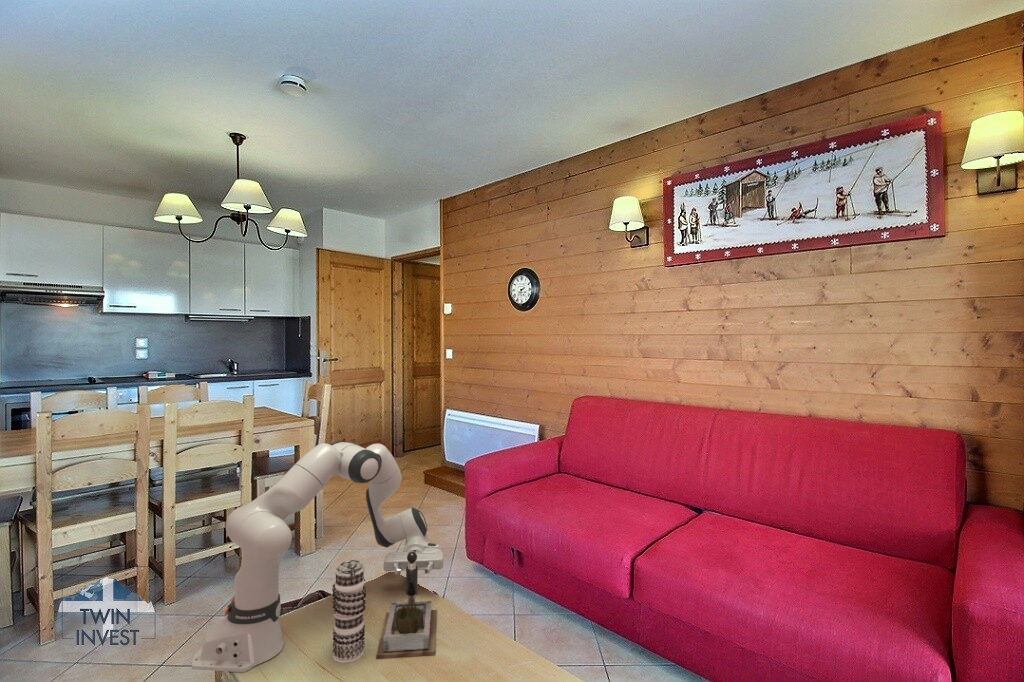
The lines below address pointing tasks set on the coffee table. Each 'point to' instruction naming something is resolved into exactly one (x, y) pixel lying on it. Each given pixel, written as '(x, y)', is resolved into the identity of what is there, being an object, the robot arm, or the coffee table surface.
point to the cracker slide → (410, 639)
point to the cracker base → (410, 653)
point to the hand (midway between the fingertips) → (412, 571)
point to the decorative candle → (349, 612)
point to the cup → (408, 619)
